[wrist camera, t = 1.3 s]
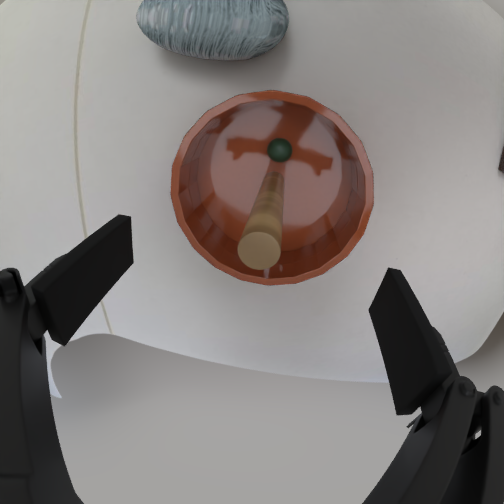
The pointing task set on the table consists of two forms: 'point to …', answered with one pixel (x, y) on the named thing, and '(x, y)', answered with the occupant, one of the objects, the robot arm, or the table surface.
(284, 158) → the bead
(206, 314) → the table surface
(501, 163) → the brown board
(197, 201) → the bowl
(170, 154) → the table surface
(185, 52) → the blue yarn skein
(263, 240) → the stick
